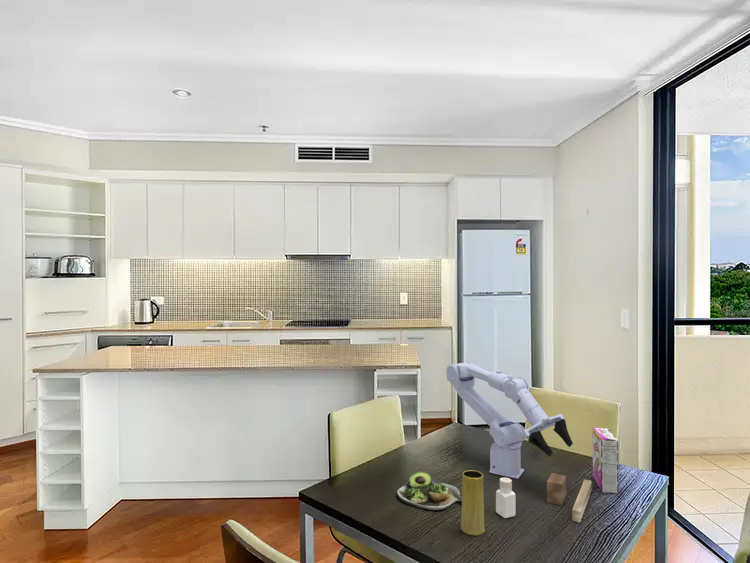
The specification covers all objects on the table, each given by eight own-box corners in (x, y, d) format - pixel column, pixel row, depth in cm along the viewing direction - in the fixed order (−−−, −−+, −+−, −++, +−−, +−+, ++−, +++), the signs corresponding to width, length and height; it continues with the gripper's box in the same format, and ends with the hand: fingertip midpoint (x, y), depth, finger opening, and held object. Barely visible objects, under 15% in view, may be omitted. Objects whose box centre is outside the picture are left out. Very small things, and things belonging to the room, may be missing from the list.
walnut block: (546, 502, 135) (546, 481, 135) (551, 492, 140) (551, 472, 140) (561, 505, 132) (561, 484, 132) (566, 495, 138) (566, 475, 138)
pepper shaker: (495, 512, 128) (495, 478, 128) (506, 509, 130) (506, 475, 130) (504, 519, 125) (504, 484, 125) (516, 516, 126) (516, 481, 126)
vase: (457, 523, 123) (458, 469, 122) (480, 522, 123) (480, 468, 123) (464, 536, 116) (464, 479, 116) (488, 535, 117) (488, 478, 117)
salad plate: (476, 495, 139) (476, 480, 139) (449, 520, 125) (449, 503, 125) (420, 479, 151) (420, 464, 151) (389, 500, 136) (389, 484, 136)
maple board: (572, 520, 124) (572, 509, 124) (584, 489, 143) (584, 479, 143) (580, 523, 123) (580, 511, 123) (591, 490, 142) (591, 480, 142)
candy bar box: (591, 477, 151) (591, 426, 151) (608, 478, 150) (608, 427, 150) (600, 493, 140) (601, 438, 140) (618, 494, 139) (619, 439, 139)
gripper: (517, 413, 142) (546, 453, 133) (555, 397, 146) (584, 434, 138) (511, 424, 147) (538, 463, 138) (547, 408, 152) (576, 445, 143)
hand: (561, 450), depth 139 cm, fingers open, 7 cm apart
